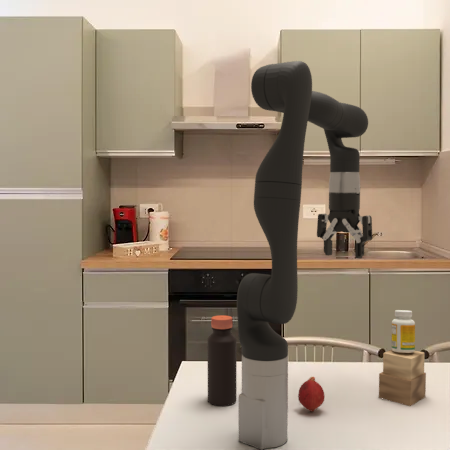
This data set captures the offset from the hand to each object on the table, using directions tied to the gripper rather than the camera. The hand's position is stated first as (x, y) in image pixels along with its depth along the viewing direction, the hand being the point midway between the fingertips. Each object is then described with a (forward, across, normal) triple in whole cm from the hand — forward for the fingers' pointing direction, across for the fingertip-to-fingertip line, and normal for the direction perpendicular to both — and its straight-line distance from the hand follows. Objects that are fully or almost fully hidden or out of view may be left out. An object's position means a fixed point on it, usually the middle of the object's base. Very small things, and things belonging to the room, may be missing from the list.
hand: (343, 256), depth 145 cm
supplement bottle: (+22, +14, +4) cm, 27 cm away
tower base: (+33, +14, +4) cm, 36 cm away
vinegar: (+33, -16, -27) cm, 46 cm away
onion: (+33, +3, -18) cm, 38 cm away
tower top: (+27, +14, +4) cm, 31 cm away
